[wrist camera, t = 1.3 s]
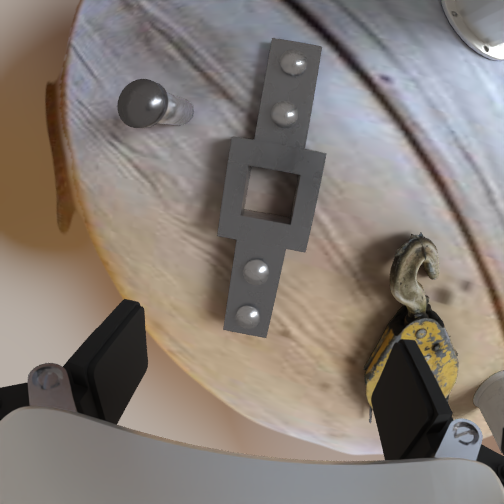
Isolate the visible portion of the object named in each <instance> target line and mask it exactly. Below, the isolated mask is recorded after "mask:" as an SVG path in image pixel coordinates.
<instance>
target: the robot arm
mask: <svg viewBox="0 0 504 504" xmlns="http://www.w3.org/2000/svg"><path fill="white" fill-rule="evenodd" d="M441 3H442V7H443V9H444V12H445V15H446V16H447V18H448V20H449V22H450V24H451V25H452V27H453V28H454V30H455V31H456V33H457V34H458V35H459V36H460V37H461V39H462V40H463V41H464V42H465V43H466V44H467V45H468V46H469V47H471V48H472V49H473V50H475V51H476V52H477V53H479V54H481V55H482V56H484V57H486V58H489V59H491V60H496V61H502V60H504V0H441ZM147 367H148V357H147V345H146V331H145V315H144V308H143V307H141V306H140V303H139V302H136V301H132V300H127V299H124V300H123V301H122V302H121V303H120V304H119V305H118V306H117V307H116V308H115V309H114V310H113V312H112V313H111V314H110V315H109V316H108V317H107V318H106V319H105V320H104V321H103V323H102V324H101V325H100V326H99V327H98V328H97V329H95V331H94V332H93V333H92V334H91V335H90V336H89V337H88V338H87V340H86V341H85V342H84V343H83V344H82V345H81V346H80V347H79V349H78V350H77V351H76V352H75V353H74V354H73V356H72V357H71V358H70V359H69V360H68V361H67V362H66V364H65V365H64V366H63V367H62V366H60V365H58V364H54V363H45V364H41V365H39V366H37V367H35V368H34V369H33V370H32V371H31V372H30V373H29V375H28V383H23V384H17V385H12V386H7V387H2V388H0V504H504V456H502V455H500V454H498V453H496V452H494V451H492V450H491V449H489V448H487V447H485V446H484V445H482V444H481V443H482V438H483V436H482V432H481V430H480V428H479V427H478V426H477V425H476V424H475V423H473V422H472V421H470V420H467V419H456V420H454V421H453V418H452V414H453V413H452V411H451V409H450V407H449V405H448V402H447V400H446V398H445V396H444V394H443V392H442V390H441V388H440V386H439V384H438V382H437V380H436V378H435V376H434V374H433V373H432V371H431V369H430V367H429V365H428V363H427V361H426V359H425V357H424V356H423V354H422V352H421V350H420V348H419V346H418V345H417V343H416V341H415V340H409V339H400V340H399V341H398V343H397V342H396V343H395V344H394V345H393V347H392V350H391V352H390V355H389V357H388V359H387V362H386V364H385V367H384V369H383V371H382V373H381V376H380V378H379V380H378V382H377V384H376V387H375V389H374V391H373V393H372V396H371V403H372V407H373V411H374V415H375V419H376V423H377V427H378V431H379V436H380V440H381V444H382V449H383V453H384V457H385V460H383V461H315V460H298V459H285V458H274V457H265V456H257V455H249V454H242V453H235V452H229V451H223V450H217V449H211V448H206V447H201V446H196V445H192V444H187V443H183V442H178V441H174V440H170V439H166V438H162V437H158V436H154V435H151V434H147V433H143V432H140V431H136V430H132V429H129V428H126V427H123V426H119V425H117V423H118V421H119V419H120V417H121V416H122V414H123V412H124V410H125V408H126V407H127V405H128V403H129V401H130V399H131V397H132V395H133V394H134V392H135V390H136V388H137V387H138V385H139V383H140V381H141V379H142V378H143V376H144V374H145V372H146V370H147Z"/></svg>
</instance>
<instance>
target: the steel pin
mask: <svg viewBox="0 0 504 504" xmlns="http://www.w3.org/2000/svg"><path fill="white" fill-rule="evenodd" d="M193 112H194V110H193V106H192V104H191V103H190V102H189V101H188V100H186V99H183V98H181V97H178V96H175V95H172V94H170V93H167V92H166V90H165V89H164V88H163V87H162V86H161V85H160V84H158V83H156V82H154V81H151V80H148V79H139V80H135V81H133V82H131V83H130V84H128V85H127V86H126V87H125V88H124V89H123V91H122V92H121V94H120V96H119V100H118V113H119V116H120V118H121V120H122V121H123V122H124V123H125V124H126V125H128V126H130V127H134V128H148V127H151V126H154V125H155V124H157V123H160V124H170V125H184V124H186V123H188V122H189V121H190V120H191V118H192V116H193Z"/></svg>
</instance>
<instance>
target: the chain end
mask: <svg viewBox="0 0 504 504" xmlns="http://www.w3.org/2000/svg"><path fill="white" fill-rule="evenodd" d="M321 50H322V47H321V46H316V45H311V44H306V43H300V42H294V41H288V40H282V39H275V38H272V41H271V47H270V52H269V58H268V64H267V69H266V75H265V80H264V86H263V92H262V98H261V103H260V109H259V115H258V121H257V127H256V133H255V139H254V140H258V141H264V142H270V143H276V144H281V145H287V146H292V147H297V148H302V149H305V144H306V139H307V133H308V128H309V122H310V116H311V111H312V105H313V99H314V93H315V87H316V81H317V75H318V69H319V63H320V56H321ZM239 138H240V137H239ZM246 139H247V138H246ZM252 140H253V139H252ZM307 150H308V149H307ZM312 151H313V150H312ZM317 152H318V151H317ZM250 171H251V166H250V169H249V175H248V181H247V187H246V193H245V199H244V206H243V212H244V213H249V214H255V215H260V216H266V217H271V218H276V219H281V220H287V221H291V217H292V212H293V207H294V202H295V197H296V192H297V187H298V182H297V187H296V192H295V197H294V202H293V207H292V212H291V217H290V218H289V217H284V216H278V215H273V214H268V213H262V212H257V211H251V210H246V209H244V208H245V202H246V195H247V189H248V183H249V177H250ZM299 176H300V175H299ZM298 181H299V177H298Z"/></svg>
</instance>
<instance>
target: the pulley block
mask: <svg viewBox="0 0 504 504" xmlns="http://www.w3.org/2000/svg"><path fill="white" fill-rule="evenodd" d="M422 263H423V266H424V269H425V271H426V273H427V275H428V276H429V278H430V279H437V278H438V276H439V259H438V252H437V249H436V246H435V245H434V244H433V243H432V242H431V240H429V239H427V238H425V237H424V236H423V235H422V233H420V235H413V234H411V239H409V240H408V241H407V242H406V243H405V244H403V245H402V246H401V248H399V249H397V251H396V253H395V258H394V261H393V264H392V267H391V271H390V289H391V293H392V295H393V296H394V297H395V298H396V300H397V301H398V302H400V303H402V304H404V306H403V307H402V308H401V309H400V310H399V311H398V312H397V314H396V315H395V316H394V318H393V319H392V320H391V322H390V323H389V324H388V326H387V328H386V330H385V332H384V334H383V335H382V337H381V339H380V341H379V343H378V344H377V346H376V348H375V350H374V351H373V353H372V355H371V357H370V358H369V360H368V362H367V363H366V365H365V367H364V370H366V369H367V370H366V372H365V384H366V397H367V400H368V402H369V404H370V419H369V422H370V423H371V418H372V414H371V413H372V409H373V407H372V403H371V396H372V393H373V391H374V389H375V387H376V384H377V382H378V380H379V378H380V376H381V373H382V371H383V369H384V367H385V364H386V362H387V359H388V357H389V355H390V352H391V350H392V347H393V345H394V344H395V343H396V342H397V343H398V341H399V340H400V339H409V340H415V341H416V343H417V345H418V346H419V348H420V350H421V352H422V354H423V356H424V357H425V359H426V361H427V363H428V365H429V367H430V369H431V371H432V373H433V374H434V376H435V378H436V380H437V382H438V384H439V386H440V388H441V390H442V392H443V394H444V396H445V398H446V400H447V402H448V398H449V393H450V392H451V390H452V388H453V386H454V384H455V383H456V379H457V375H458V367H459V366H458V359H457V356H458V353H457V351H456V350H455V349H454V347H453V345H452V343H451V340H450V338H449V337H450V336H449V335H448V333H447V330H446V328H445V326H444V323H443V321H442V320H441V319H440V317H439V316H438V315H437V313H435V312H434V311H432V309H431V306H430V304H428V302H429V297H428V296H427V295H425V292H424V290H423V287H422V285H421V284H420V283H419V282H418V281H417V272H418V269H419V267H420V265H421V264H422Z"/></svg>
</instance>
